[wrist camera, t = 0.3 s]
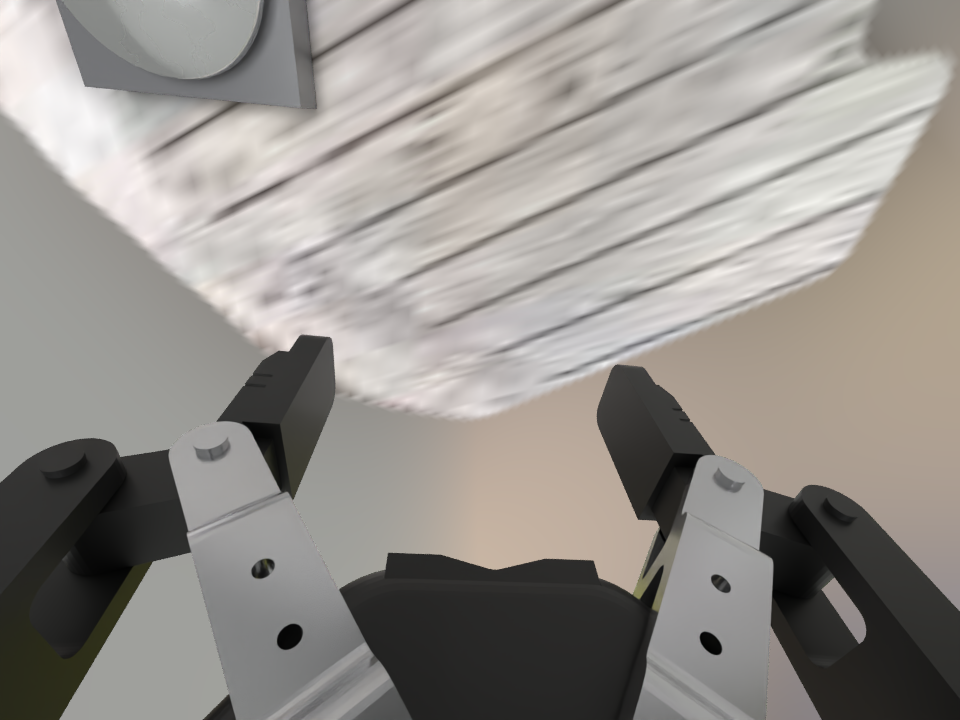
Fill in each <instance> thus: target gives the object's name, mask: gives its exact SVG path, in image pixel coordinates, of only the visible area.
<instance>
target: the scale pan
mask: <svg viewBox="0 0 960 720" xmlns="http://www.w3.org/2000/svg"><path fill="white" fill-rule="evenodd" d="M62 2H63V3H64V4H65V6H66V7H67V8H68V10H69V11H70V12H71V13H72V14H73V15H74V17H75V18H76V19H77V20H78V21H79V22H80V23H81V24H82V25H83V27H84V28H85V29H86V30H87V31H88V32H89V33H90V34H91V35H92V36H94V37H95V38H96V39H97V40H98V41H99V42H101V43H102V44H103V45H104V46H105V47H107V48H108V49H109V50H111V51H112V52H114V53H115V54H116V55H118V56H119V57H121V58H123V59H124V60H126V61H128V62H130V63H131V64H133V65H135V66H137V67H139V68H142V69H144V70H146V71H149V72H152V73H155V74H158V75H162V76H167V77H173V78H179V79H204V78H210V77H213V76H216V75H220V74H221V73H223V72H225V71H227V70H229V69H231V68H232V67H233V66H234V65H236V64H237V63H238V62H239V61H240V60H241V59H242V58H243V57H244V56H245V55H246V53H247V52H248V50H249V49H250V47H251V45H252V44H253V42H254V40H255V37H256V35H257V33H258V30H259V26H260V22H261V19H262V13H263V5H264V0H62Z"/></svg>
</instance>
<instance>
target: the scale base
mask: <svg viewBox="0 0 960 720" xmlns="http://www.w3.org/2000/svg"><path fill="white" fill-rule="evenodd" d="M56 2H57V5H58V8H59V11H60V14H61V17H62V20H63V23H64V26H65V29H66V32H67V34H68V37H69V40H70V43H71V46H72V49H73V52H74V55H75V58H76V61H77V64H78V67H79V70H80V73H81V76H82V79H83V82H84V85H85V87H95V88H105V89H115V90H125V91H135V92H145V93H155V94H165V95H175V96H185V97H195V98H205V99H215V100H225V101H235V102H245V103H255V104H265V105H275V106H285V107H295V108H313V109H317V107H316V97H315V87H314V77H313V67H312V57H311V47H310V37H309V27H308V17H307V7H306V0H264V5H263V13H262V19H261V22H260V26H259V30H258V33H257V35H256V37H255V40H254V42H253V44H252V45H251V47H250V49H249V50H248V52H247V53H246V55H245V56H244V57H243V58H242V59H241V60H240V61H239V62H238V63H237V64H236V65H234V66H233V67H232V68H231V69H229V70H227V71H225V72H223V73H221V74H220V75H216V76H213V77H210V78H204V79H179V78H173V77H167V76H162V75H158V74H155V73H152V72H149V71H146V70H144V69H142V68H139V67H137V66H135V65H133V64H131V63H130V62H128V61H126V60H124V59H123V58H121V57H119V56H118V55H116V54H115V53H114V52H112V51H111V50H109V49H108V48H107V47H105V46H104V45H103V44H102V43H101V42H99V41H98V40H97V39H96V38H95V37H94V36H92V35H91V34H90V33H89V32H88V31H87V30H86V29H85V28H84V27H83V25H82V24H81V23H80V22H79V21H78V20H77V19H76V18H75V17H74V15H73V14H72V13H71V12H70V11H69V10H68V8H67V7H66V6H65V4H64V3H63V2H62V0H56Z"/></svg>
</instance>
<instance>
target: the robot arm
mask: <svg viewBox="0 0 960 720" xmlns="http://www.w3.org/2000/svg"><path fill="white" fill-rule="evenodd" d="M334 396H335V370H334V355H333V343H332V339H331V338H330V337H322V336H311V335H300V336H299V338H298V339H297V341H296V342H295V344H294V345H293V347H292V348H291V349H290V351H289V352H286V351H278V352H276V353H274V354H273V355H271V356H269V357H268V358H266V359H265V360H263V361H262V362H261V363H260V365H259V366H258V367H257V369H256V370H255V371H254V373H253V376H251V377H250V378H249V379H248V381H247V382H246V383H245V386H243V387H242V389H241V390H240V391H239V392H238V394H237V395H236V396H235V398H234V399H233V401H232V402H231V403H230V404H229V406H228V407H227V408H226V410H225V411H224V412H223V414H222V415H221V416H220V418H219V419H218V420H217V422H213V423H208V424H204V425H202V426H198V427H196V428H194V429H192V430H190V431H188V432H186V433H185V434H183V435H182V436H181V437H179V438H178V439H177V440H176V441H175V442H174V443H173V445H172V446H171V448H170V449H168V450H163V451H157V452H151V453H144V454H139V455H131V456H125V457H120V455H119V453H118V451H117V449H116V447H115V446H114V445H113V444H112V443H111V442H108V441H106V440H102V439H95V438H90V439H89V438H88V439H79V440H73V441H68V442H64V443H61V444H58V445H55V446H53V447H50V448H47V449H45V450H43V451H41V452H39V453H37V454H36V455H34V456H32V457H30V458H29V459H27V460H26V461H25V462H23V463H22V464H21V465H20V466H18V467H17V468H16V469H15V470H14V471H13V472H12V473H11V474H10V475H9V476H7V477H6V478H5V479H4V480H3V481H2V482H1V483H0V720H59V719H60V717H61V716H62V714H63V712H64V710H65V709H66V707H67V706H68V704H69V702H70V700H71V699H72V697H73V695H74V693H75V692H76V690H77V689H78V687H79V685H80V683H81V682H82V680H83V679H84V677H85V675H86V674H87V672H88V670H89V668H90V667H91V665H92V663H93V662H94V660H95V658H96V657H97V655H98V653H99V652H100V650H101V648H102V647H103V645H104V643H105V641H106V640H107V638H108V636H109V635H110V633H111V631H112V630H113V628H114V626H115V625H116V623H117V621H118V620H119V618H120V616H121V615H122V613H123V611H124V609H125V608H126V606H127V604H128V603H129V601H130V599H131V598H132V596H133V594H134V593H135V591H136V589H137V588H138V586H139V584H140V582H141V581H142V579H143V577H144V576H145V574H146V572H147V571H148V569H149V567H150V566H151V564H152V562H153V561H156V560H161V559H165V558H169V557H173V556H178V555H182V554H186V553H190V552H191V553H192V556H193V560H194V564H195V568H196V572H197V575H198V579H199V583H200V586H201V590H202V594H203V598H204V602H205V605H206V609H207V612H208V617H209V620H210V624H211V628H212V631H213V635H214V639H215V643H216V646H217V650H218V653H219V658H220V661H221V665H222V669H223V672H224V676H225V680H226V684H227V687H228V691H229V695H227V696H226V697H225V698H224V699H223V700H222V701H221V702H220V703H219V704H218V706H216V707H215V708H214V709H213V710H212V711H211V712H210V714H208V715H207V716H206V717H205V718H204V719H203V720H766V709H767V688H768V667H769V647H770V646H769V645H770V626H771V627H772V629H773V631H774V633H775V634H776V636H777V638H778V640H779V642H780V644H781V645H782V647H783V649H784V651H785V653H786V655H787V656H788V658H789V660H790V662H791V664H792V666H793V668H794V669H795V671H796V673H797V675H798V677H799V679H800V680H801V682H802V684H803V686H804V688H805V690H806V692H807V693H808V695H809V697H810V699H811V701H812V702H813V704H814V706H815V708H816V710H817V712H818V714H819V715H820V717H821V719H822V720H960V611H959V610H958V609H957V608H956V607H955V606H954V605H953V604H952V603H951V602H950V601H949V600H948V599H947V597H946V596H945V595H944V594H943V593H942V592H941V591H940V590H939V589H938V588H937V587H936V586H935V585H934V584H933V582H932V581H931V580H930V579H929V578H928V577H927V576H926V575H925V574H924V573H923V572H922V571H921V569H920V568H919V567H918V566H917V565H916V564H915V563H914V562H913V561H912V560H911V559H910V558H909V557H908V556H907V554H906V553H905V552H904V551H903V550H902V549H901V548H900V547H899V546H898V545H897V544H896V543H895V542H894V540H893V539H892V538H891V537H890V536H889V535H888V534H887V533H886V532H885V531H884V530H883V529H882V528H881V527H880V526H879V524H878V523H877V522H876V521H875V520H874V519H873V518H872V517H871V516H870V515H869V514H868V513H867V512H866V511H865V510H864V509H863V508H862V507H861V506H860V505H858V504H857V503H856V502H854V501H853V500H851V499H850V498H848V497H847V496H845V495H843V494H841V493H839V492H837V491H835V490H832V489H830V488H827V487H823V486H818V485H808V486H806V487H804V488H803V489H802V490H801V491H800V493H799V494H798V495H797V496H796V498H795V499H794V498H791V497H788V496H784V495H781V494H778V493H774V492H771V491H768V490H765V489H763V487H762V485H761V483H760V482H759V481H758V479H757V478H756V477H755V476H754V475H753V474H752V473H751V472H750V471H748V470H747V469H746V468H745V467H743V466H742V465H740V464H739V463H736V462H734V461H733V460H730V459H728V458H725V457H721V456H717V455H715V454H714V452H713V451H712V449H711V448H710V447H709V445H708V444H707V442H706V441H705V440H704V438H703V437H702V435H701V434H700V433H699V431H698V430H697V429H696V427H695V426H694V424H693V423H692V422H690V419H689V418H688V416H687V415H686V413H685V412H683V411H682V408H681V407H680V405H679V404H678V402H677V401H676V400H675V398H674V397H673V396H672V395H671V394H669V393H668V392H667V391H665V390H664V389H663V388H662V387H660V386H659V385H656V384H655V383H654V382H653V380H652V379H651V377H650V376H649V374H648V373H647V371H646V370H645V369H644V368H643V367H638V366H628V365H615V366H614V367H613V368H612V370H611V373H610V376H609V378H608V381H607V384H606V386H605V389H604V392H603V395H602V397H601V400H600V403H599V406H598V410H597V423H598V427H599V430H600V432H601V434H602V437H603V439H604V441H605V444H606V446H607V448H608V451H609V453H610V455H611V458H612V460H613V462H614V465H615V467H616V469H617V472H618V474H619V476H620V479H621V481H622V483H623V486H624V488H625V490H626V493H627V495H628V497H629V500H630V502H631V504H632V507H633V509H634V511H635V514H636V516H637V518H638V520H655V521H657V522H658V524H659V528H658V530H657V532H656V534H655V535H654V538H653V541H652V544H651V546H650V549H649V552H648V555H647V557H646V560H645V563H644V566H643V568H642V571H641V574H640V577H639V579H638V582H637V585H636V588H635V590H634V592H633V595H632V594H630V593H629V592H627V591H626V590H624V589H622V588H620V587H618V586H617V585H615V584H612V583H610V582H607V581H605V580H603V579H599V578H598V575H597V571H596V568H595V564H594V561H591V560H564V559H542V560H538V561H534V562H529V563H525V564H521V565H516V566H512V567H508V568H504V569H499V570H492V569H487V568H484V567H481V566H477V565H474V564H470V563H467V562H464V561H460V560H457V559H453V558H450V557H446V556H443V555H432V554H405V553H388V557H387V564H386V570H382V571H378V572H374V573H372V574H369V575H366V576H363V577H361V578H359V579H357V580H355V581H352V582H351V583H348V584H347V585H345V586H344V587H342V588H340V589H338V587H337V585H336V583H335V581H334V579H333V578H332V576H331V574H330V572H329V570H328V568H327V566H326V564H325V562H324V560H323V558H322V556H321V554H320V552H319V551H318V548H317V546H316V545H315V543H314V541H313V539H312V537H311V535H310V533H309V531H308V529H307V527H306V525H305V523H304V522H303V520H302V518H301V516H300V514H299V512H298V510H297V508H296V506H295V504H294V502H293V499H294V497H295V494H296V492H297V490H298V487H299V485H300V482H301V480H302V478H303V475H304V473H305V470H306V468H307V466H308V463H309V461H310V458H311V456H312V454H313V451H314V448H315V446H316V444H317V441H318V439H319V436H320V434H321V432H322V429H323V427H324V425H325V422H326V420H327V417H328V415H329V413H330V410H331V407H332V405H333V401H334ZM834 577H835V578H836V580H837V581H838V583H839V584H840V585H841V587H842V588H843V589H844V591H845V592H846V593H847V595H848V596H849V597H850V599H851V600H852V602H853V603H854V604H855V606H856V607H857V608H858V610H859V611H860V613H861V614H862V616H863V618H864V621H865V624H866V637H865V639H864V641H863V642H861V643H860V644H858V642H857V640H856V639H855V638H854V636H853V635H852V633H851V632H850V630H849V629H848V627H847V626H846V625H845V623H844V622H843V620H842V619H841V617H840V616H839V614H838V613H837V611H836V610H835V608H834V607H833V606H832V604H831V603H830V601H829V600H828V598H827V597H826V595H825V594H824V593H823V591H822V590H821V589H822V588H823V587H824V586H826V585H827V584H828V583H829V582H830V581H831V580H832V579H833V578H834Z"/></svg>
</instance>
